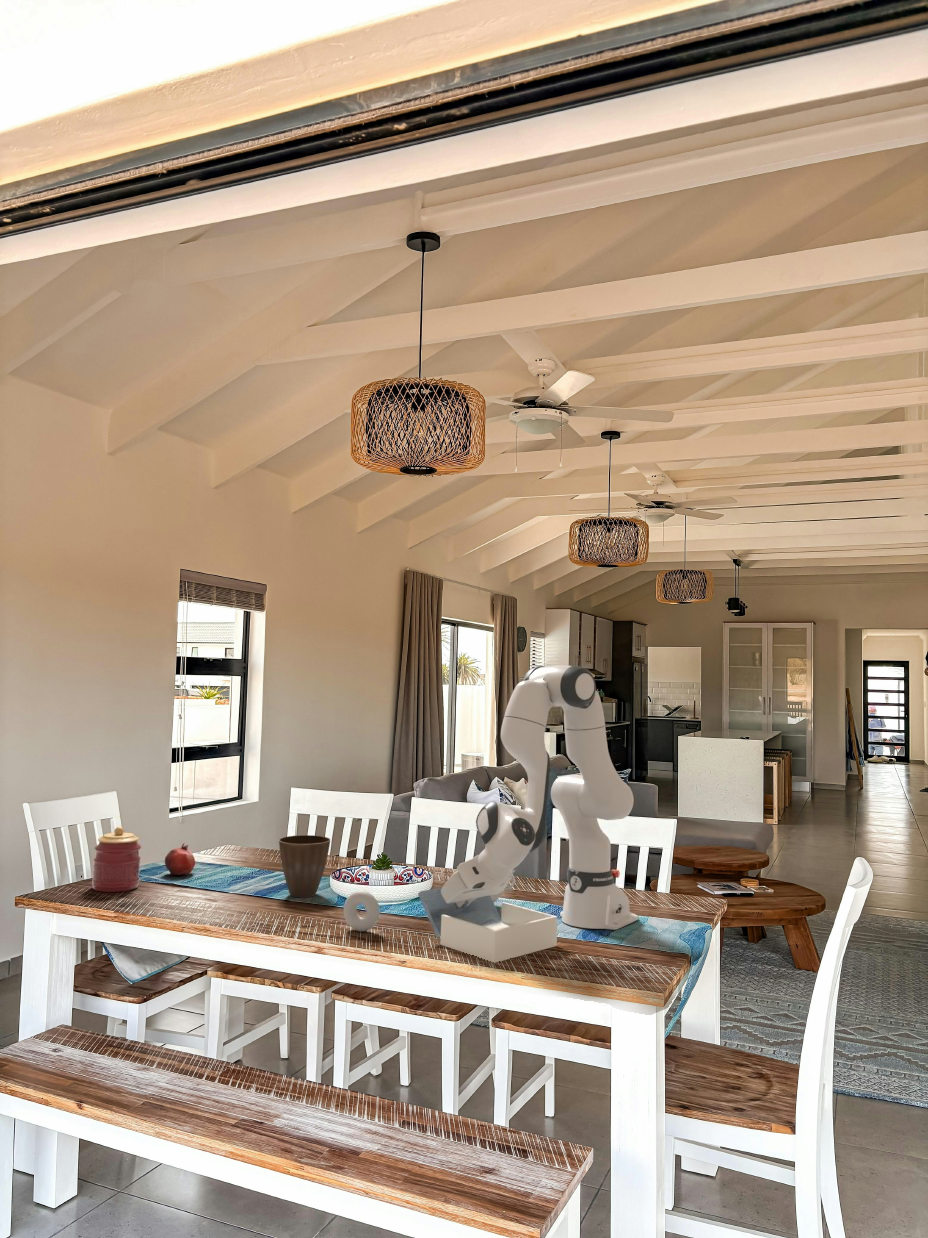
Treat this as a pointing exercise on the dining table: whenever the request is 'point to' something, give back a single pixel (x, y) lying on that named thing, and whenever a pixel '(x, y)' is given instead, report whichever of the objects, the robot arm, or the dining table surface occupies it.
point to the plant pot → (303, 862)
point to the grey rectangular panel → (458, 910)
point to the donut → (371, 909)
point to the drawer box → (501, 934)
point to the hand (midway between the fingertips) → (461, 904)
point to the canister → (116, 862)
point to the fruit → (180, 861)
